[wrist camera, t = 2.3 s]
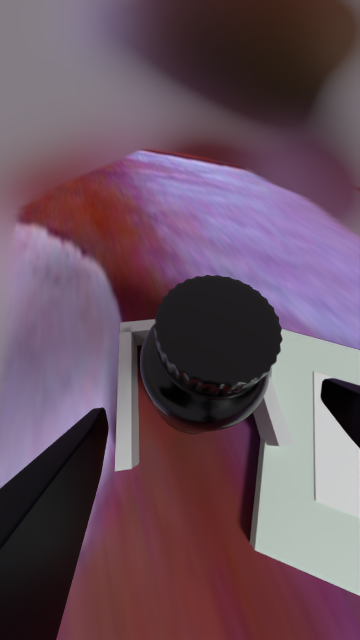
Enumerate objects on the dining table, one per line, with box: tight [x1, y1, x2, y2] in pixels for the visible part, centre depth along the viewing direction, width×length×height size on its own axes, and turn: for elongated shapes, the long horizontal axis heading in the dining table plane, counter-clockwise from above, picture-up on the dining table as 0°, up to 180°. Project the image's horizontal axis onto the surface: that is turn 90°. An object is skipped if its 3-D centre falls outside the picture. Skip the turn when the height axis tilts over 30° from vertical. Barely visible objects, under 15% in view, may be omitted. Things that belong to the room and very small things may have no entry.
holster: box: [115, 319, 294, 471], centre depth 17 cm, size 10×12×3 cm
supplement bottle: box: [140, 275, 283, 434], centre depth 13 cm, size 7×7×12 cm
